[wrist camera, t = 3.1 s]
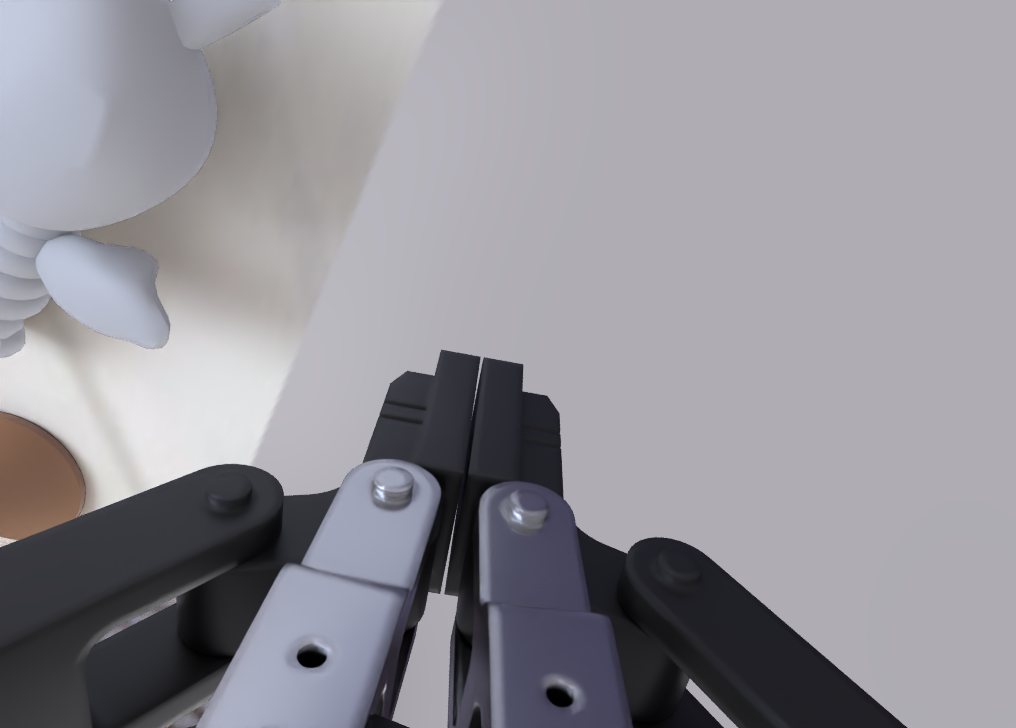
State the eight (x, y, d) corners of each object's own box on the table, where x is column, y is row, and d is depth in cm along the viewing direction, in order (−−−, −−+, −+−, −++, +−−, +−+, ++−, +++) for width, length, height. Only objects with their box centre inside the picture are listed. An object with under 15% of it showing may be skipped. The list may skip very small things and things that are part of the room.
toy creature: (-257, 241, 26) (-150, -403, 16) (-40, 207, 32) (136, -268, 22) (-10, 513, 26) (259, 41, 16) (158, 425, 32) (428, 49, 22)
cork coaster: (-93, 485, 35) (-100, 490, 34) (-45, 380, 32) (-51, 385, 32) (52, 557, 37) (47, 563, 36) (109, 464, 34) (105, 470, 33)
